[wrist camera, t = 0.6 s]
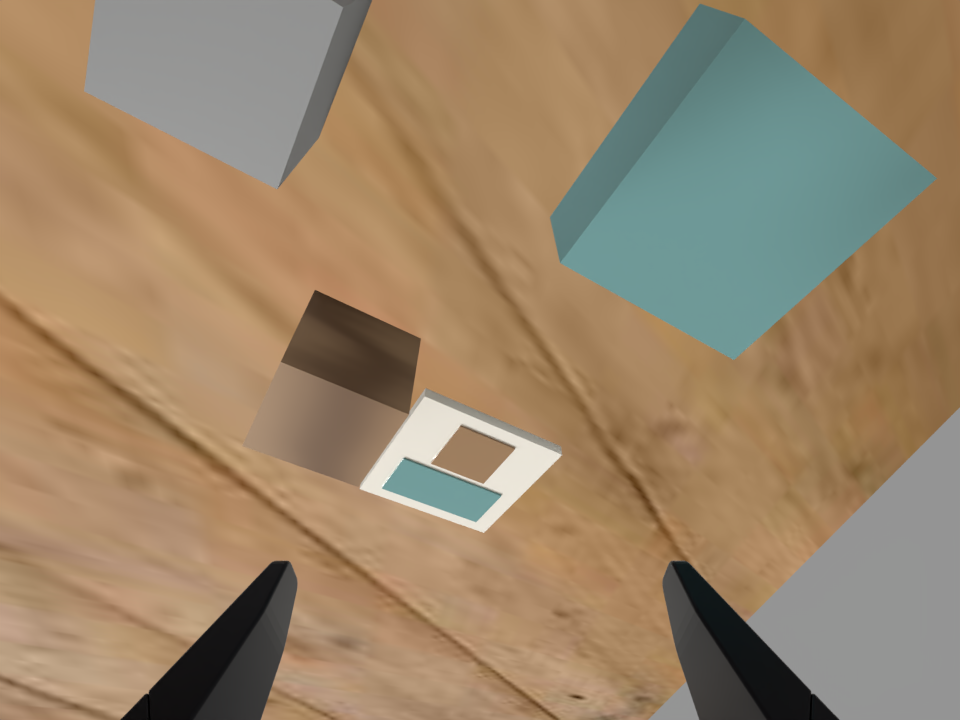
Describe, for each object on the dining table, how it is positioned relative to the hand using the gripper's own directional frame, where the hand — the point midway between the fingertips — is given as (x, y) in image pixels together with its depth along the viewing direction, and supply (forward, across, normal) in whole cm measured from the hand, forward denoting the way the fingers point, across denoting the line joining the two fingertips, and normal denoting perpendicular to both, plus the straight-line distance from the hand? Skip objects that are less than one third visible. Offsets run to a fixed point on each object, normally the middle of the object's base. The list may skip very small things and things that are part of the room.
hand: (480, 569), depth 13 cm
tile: (+13, -1, -11) cm, 17 cm away
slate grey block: (+13, -7, +10) cm, 17 cm away
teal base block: (+13, +8, +5) cm, 16 cm away
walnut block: (+13, -6, -4) cm, 15 cm away
